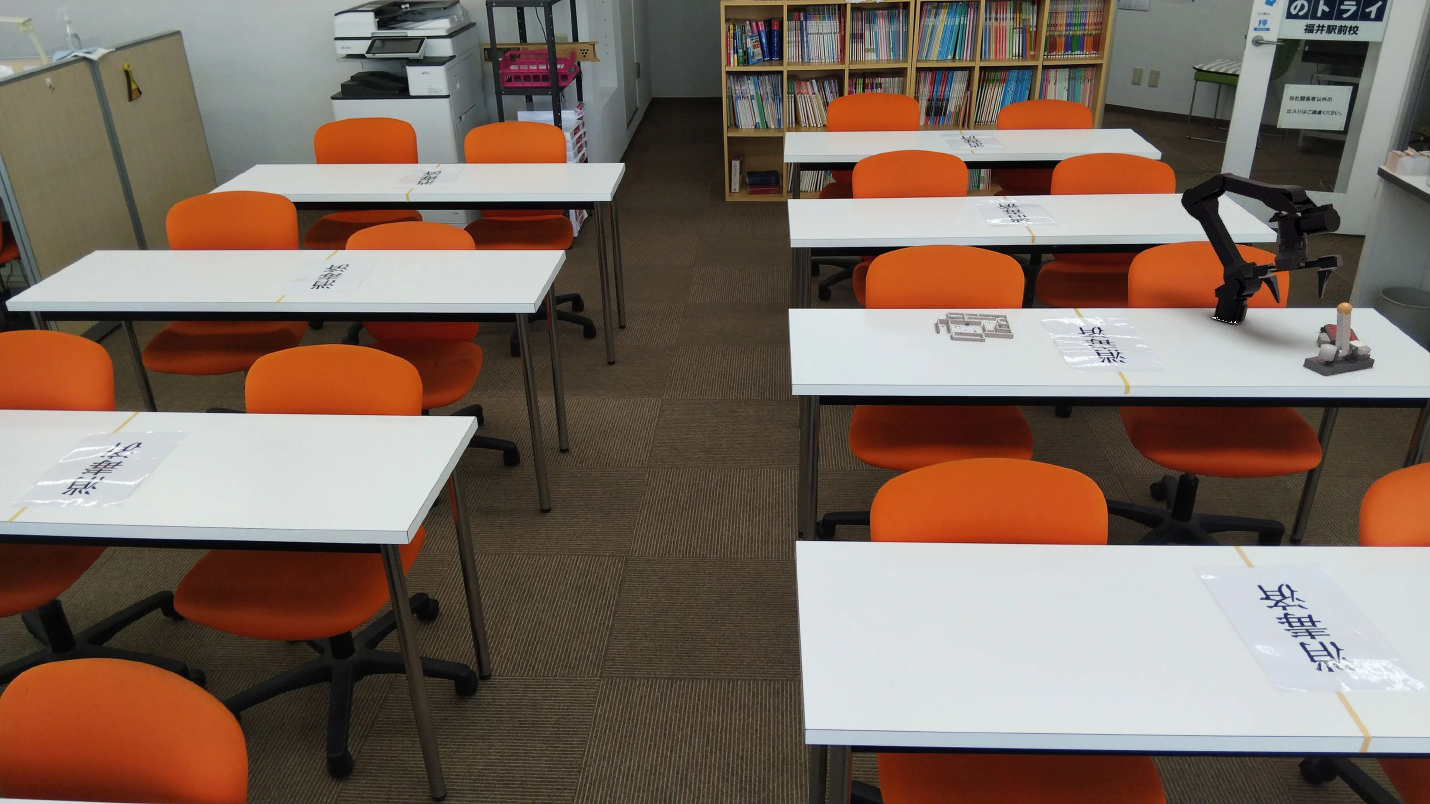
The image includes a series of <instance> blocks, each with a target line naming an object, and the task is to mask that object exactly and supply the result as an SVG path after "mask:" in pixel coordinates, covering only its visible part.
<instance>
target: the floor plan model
mask: <svg viewBox="0 0 1430 804" xmlns="http://www.w3.org/2000/svg"><path fill="white" fill-rule="evenodd" d="M946 316H947V318H942V317H941V318H940V317H938V318H936V326H937V333H938V334H939V335H940V334H941V328H944V327H945V325H948V331H949V334H950V335H951V340H952V341H956V342H957V341H959V342H976V343H977V342H978V343H985V342H986V338H991V339H992V338H993V339H994V338H995V339H996V338H997V339H1009V340H1011V339H1014V335H1015V334H1014V331H1013V329H1012V327H1011V326H1012V325H1011V323H1010V321H1009V319H1008V315H1007V314H993V313H992V314H991V313H978V312H977V313H968V312H967V313H965V312H951V311H950V312H949V311H947V312H946ZM982 321H984V322H983V324H982ZM985 321H988V322H987V323H986V322H985ZM990 321H995V325H994V327H995V330H994V328H991V329H990V328H987V324H988V323H989V324H990V323H991V322H990ZM1004 322H1005V323H1004ZM952 325H954V327H955V329H957V327H959V328H958V329H961V326H978V327H982V329H983V332H977V331H976V329H974V332H971V331H970V332H969V331H968V330H967V329H964V330H965V331H955V330H954V331H952ZM995 331H996V332H995Z"/></svg>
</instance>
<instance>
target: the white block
mask: <svg viewBox="0 0 1430 804" xmlns="http://www.w3.org/2000/svg"><path fill="white" fill-rule="evenodd" d="M1350 344H1352V345H1354V346H1357V347H1358V350H1357V353H1358V354H1360V355H1362V354H1370V353H1371V351H1372V347H1370V346H1368V345H1366V344H1365V343H1363V342H1361V341H1360V340H1359V341H1358V340H1356V341H1350Z"/></svg>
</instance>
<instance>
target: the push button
mask: <svg viewBox="0 0 1430 804" xmlns="http://www.w3.org/2000/svg"><path fill="white" fill-rule="evenodd" d="M1319 348H1320V349H1319V351H1318V355H1317V356H1318V358H1319V359H1321V360H1325V361H1333V359H1334V356H1335V353H1336V350H1337V347H1336V346H1334V345H1331V344H1322V345H1321V347H1319Z"/></svg>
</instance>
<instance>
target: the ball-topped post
mask: <svg viewBox="0 0 1430 804" xmlns="http://www.w3.org/2000/svg"><path fill="white" fill-rule="evenodd" d="M1336 311H1337V312H1336V325H1337V327H1336V347H1337V349H1339V350H1340V353H1339V356H1338V358H1342V357H1348V356H1351V355H1352V350H1351V349H1350V348H1349V344H1350V328H1351V325H1352V324H1351V323H1352V322H1351V321H1352V311H1353V306H1352V305H1351V303H1349V302H1341V303H1340V304H1337V307H1336Z"/></svg>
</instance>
